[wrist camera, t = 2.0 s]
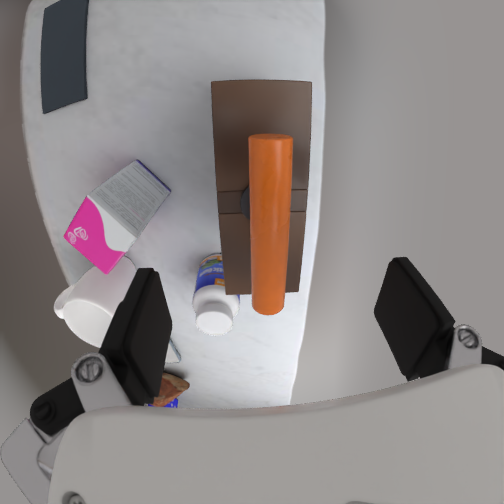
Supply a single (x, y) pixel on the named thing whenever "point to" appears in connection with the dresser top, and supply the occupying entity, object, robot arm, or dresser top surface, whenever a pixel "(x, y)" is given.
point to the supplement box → (116, 215)
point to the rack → (237, 166)
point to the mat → (63, 54)
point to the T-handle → (268, 218)
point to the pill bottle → (213, 298)
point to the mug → (95, 300)
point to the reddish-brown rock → (170, 389)
